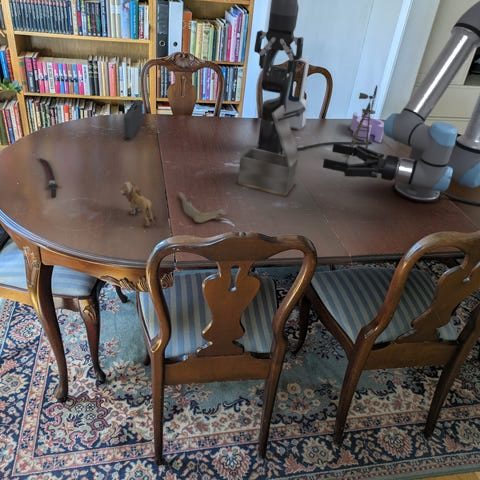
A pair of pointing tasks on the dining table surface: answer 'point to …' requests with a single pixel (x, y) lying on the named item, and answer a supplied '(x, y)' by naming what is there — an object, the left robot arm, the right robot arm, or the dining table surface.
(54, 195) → the sword
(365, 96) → the miniature windmill
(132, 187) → the lion figurine
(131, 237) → the dining table surface
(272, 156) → the chest
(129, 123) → the handheld gaming console
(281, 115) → the panel with bar handle
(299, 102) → the electronic device
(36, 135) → the dining table surface
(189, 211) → the jawbone
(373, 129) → the clip
